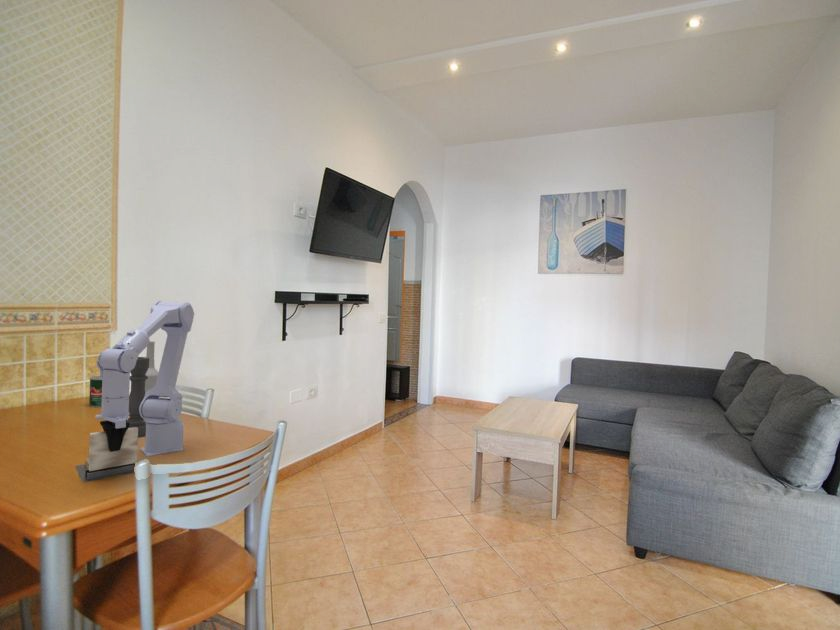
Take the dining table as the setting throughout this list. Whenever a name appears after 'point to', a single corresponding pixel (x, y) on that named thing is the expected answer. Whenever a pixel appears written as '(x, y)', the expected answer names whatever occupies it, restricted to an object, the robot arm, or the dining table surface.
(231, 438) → the dining table surface
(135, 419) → the candle holder
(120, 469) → the rack
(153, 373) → the bottle
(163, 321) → the robot arm
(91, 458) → the beige flat block
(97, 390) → the canned tomato
